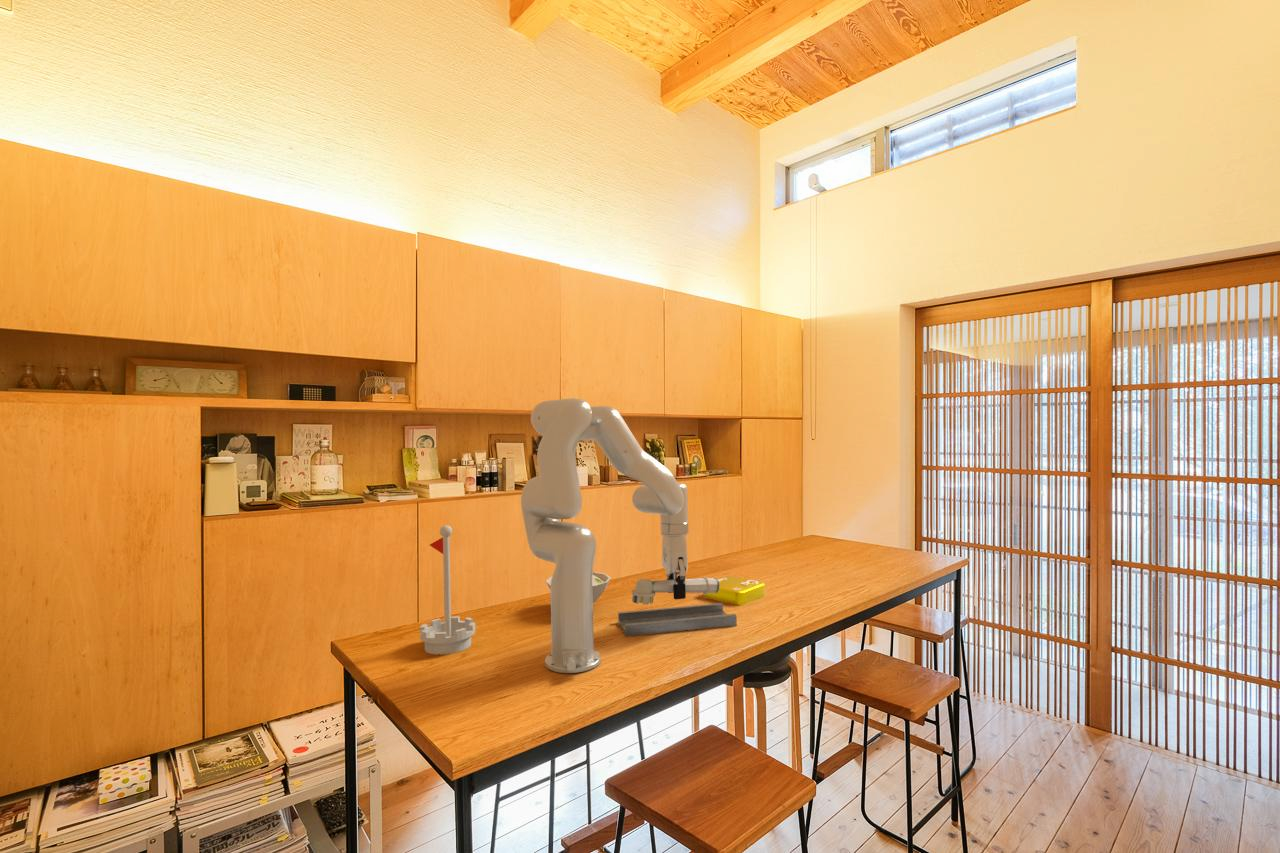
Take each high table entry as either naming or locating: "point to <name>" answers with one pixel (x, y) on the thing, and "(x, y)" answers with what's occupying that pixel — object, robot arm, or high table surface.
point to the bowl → (594, 584)
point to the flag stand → (446, 613)
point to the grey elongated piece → (671, 588)
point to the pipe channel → (675, 619)
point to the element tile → (737, 590)
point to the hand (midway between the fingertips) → (676, 594)
